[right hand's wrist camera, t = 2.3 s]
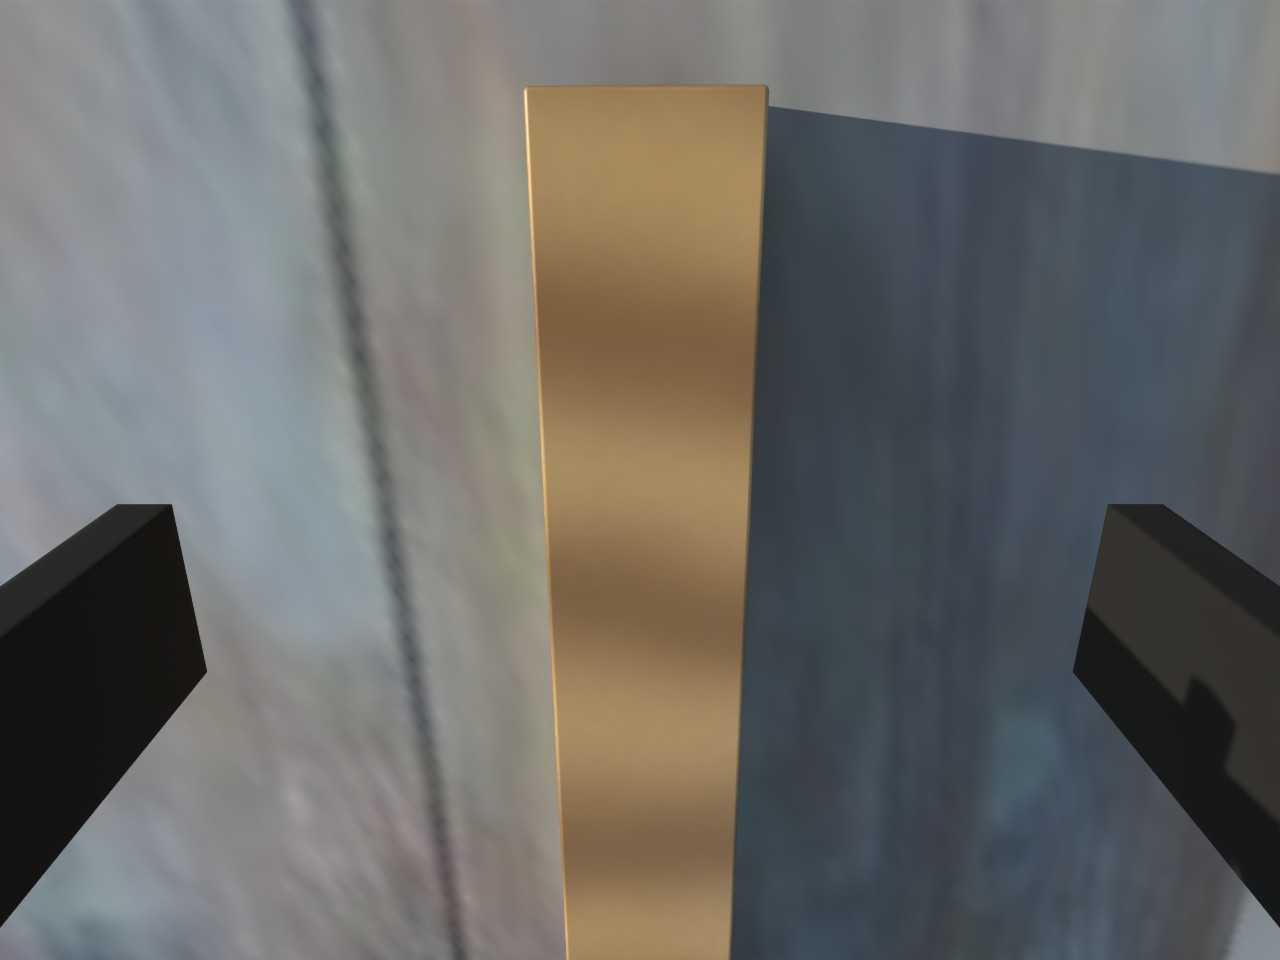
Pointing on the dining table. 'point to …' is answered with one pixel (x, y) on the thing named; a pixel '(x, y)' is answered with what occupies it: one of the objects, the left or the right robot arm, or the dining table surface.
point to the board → (647, 493)
